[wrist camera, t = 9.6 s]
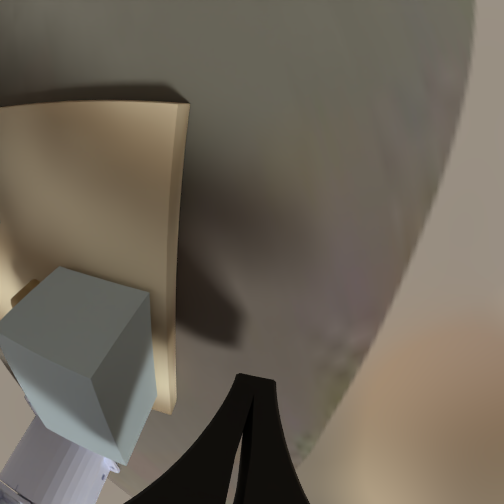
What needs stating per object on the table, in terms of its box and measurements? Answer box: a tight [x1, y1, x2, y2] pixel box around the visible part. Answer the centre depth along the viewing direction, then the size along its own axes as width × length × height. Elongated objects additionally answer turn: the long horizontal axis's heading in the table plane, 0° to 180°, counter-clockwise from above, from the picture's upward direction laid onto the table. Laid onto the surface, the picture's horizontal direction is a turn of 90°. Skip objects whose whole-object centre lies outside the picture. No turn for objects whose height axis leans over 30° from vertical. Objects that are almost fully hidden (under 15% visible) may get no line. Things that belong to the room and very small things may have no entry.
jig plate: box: [0, 100, 190, 415], centre depth 10 cm, size 14×14×4 cm
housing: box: [0, 266, 157, 466], centre depth 10 cm, size 6×4×4 cm, turn 171°
